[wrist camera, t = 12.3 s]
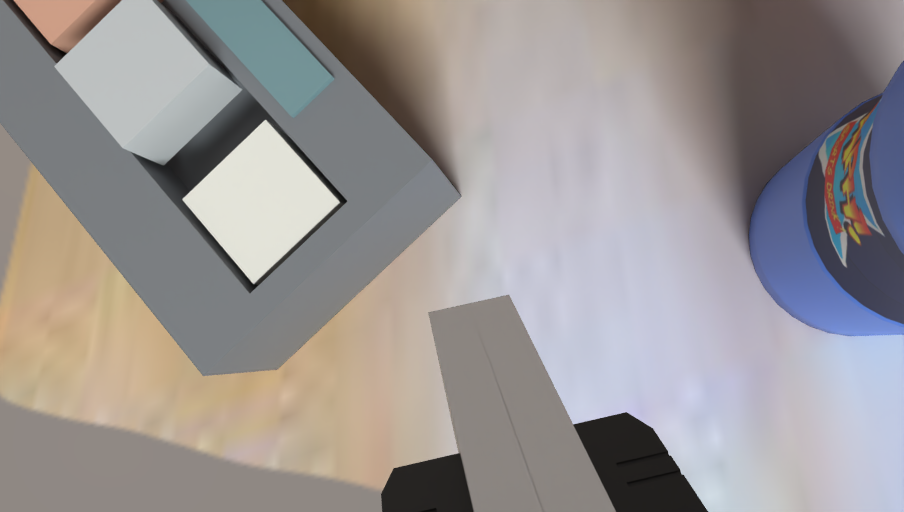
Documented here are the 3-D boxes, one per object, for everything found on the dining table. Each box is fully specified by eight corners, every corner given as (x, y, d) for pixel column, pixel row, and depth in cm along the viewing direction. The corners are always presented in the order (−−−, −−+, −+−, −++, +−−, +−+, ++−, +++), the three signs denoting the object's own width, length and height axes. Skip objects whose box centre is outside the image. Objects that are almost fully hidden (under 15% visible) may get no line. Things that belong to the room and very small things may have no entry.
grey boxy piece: (26, 67, 44) (-98, 5, 36) (189, -92, 44) (100, -192, 35) (277, 369, 40) (199, 376, 32) (461, 196, 39) (431, 157, 31)
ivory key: (216, 211, 36) (181, 199, 33) (292, 138, 36) (265, 119, 33) (282, 289, 35) (253, 283, 32) (361, 214, 35) (340, 202, 32)
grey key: (99, 90, 36) (53, 66, 33) (176, 16, 36) (137, -16, 33) (163, 165, 35) (122, 148, 32) (242, 89, 35) (209, 64, 32)
